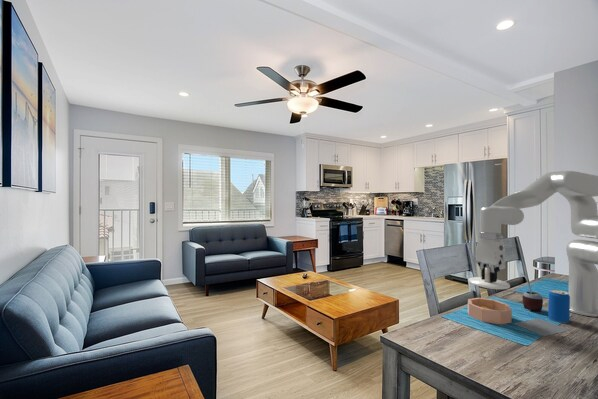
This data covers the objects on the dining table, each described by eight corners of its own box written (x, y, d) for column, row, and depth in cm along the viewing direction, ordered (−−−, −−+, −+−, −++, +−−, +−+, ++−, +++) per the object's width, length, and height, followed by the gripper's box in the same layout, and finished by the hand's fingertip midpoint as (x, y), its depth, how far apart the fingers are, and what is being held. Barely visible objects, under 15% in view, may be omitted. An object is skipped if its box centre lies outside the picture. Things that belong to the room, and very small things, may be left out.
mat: (538, 319, 122) (538, 318, 122) (570, 331, 112) (570, 329, 112) (513, 324, 117) (513, 323, 117) (544, 337, 107) (544, 336, 107)
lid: (485, 277, 133) (485, 262, 133) (518, 287, 120) (518, 270, 120) (461, 280, 128) (461, 264, 128) (492, 290, 115) (493, 273, 115)
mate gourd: (540, 315, 126) (541, 280, 126) (518, 310, 132) (518, 276, 132) (544, 311, 131) (545, 277, 131) (522, 306, 137) (523, 273, 137)
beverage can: (573, 325, 117) (574, 295, 117) (554, 323, 119) (555, 293, 118) (562, 318, 124) (563, 289, 124) (544, 317, 125) (545, 288, 125)
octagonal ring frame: (484, 308, 134) (485, 296, 134) (518, 322, 120) (519, 308, 120) (460, 312, 129) (460, 300, 129) (492, 327, 115) (492, 313, 115)
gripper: (516, 239, 117) (515, 285, 118) (478, 233, 133) (477, 274, 133) (503, 239, 115) (501, 287, 115) (466, 234, 130) (465, 276, 130)
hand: (488, 280), depth 124 cm, fingers closed on lid, 3 cm apart
